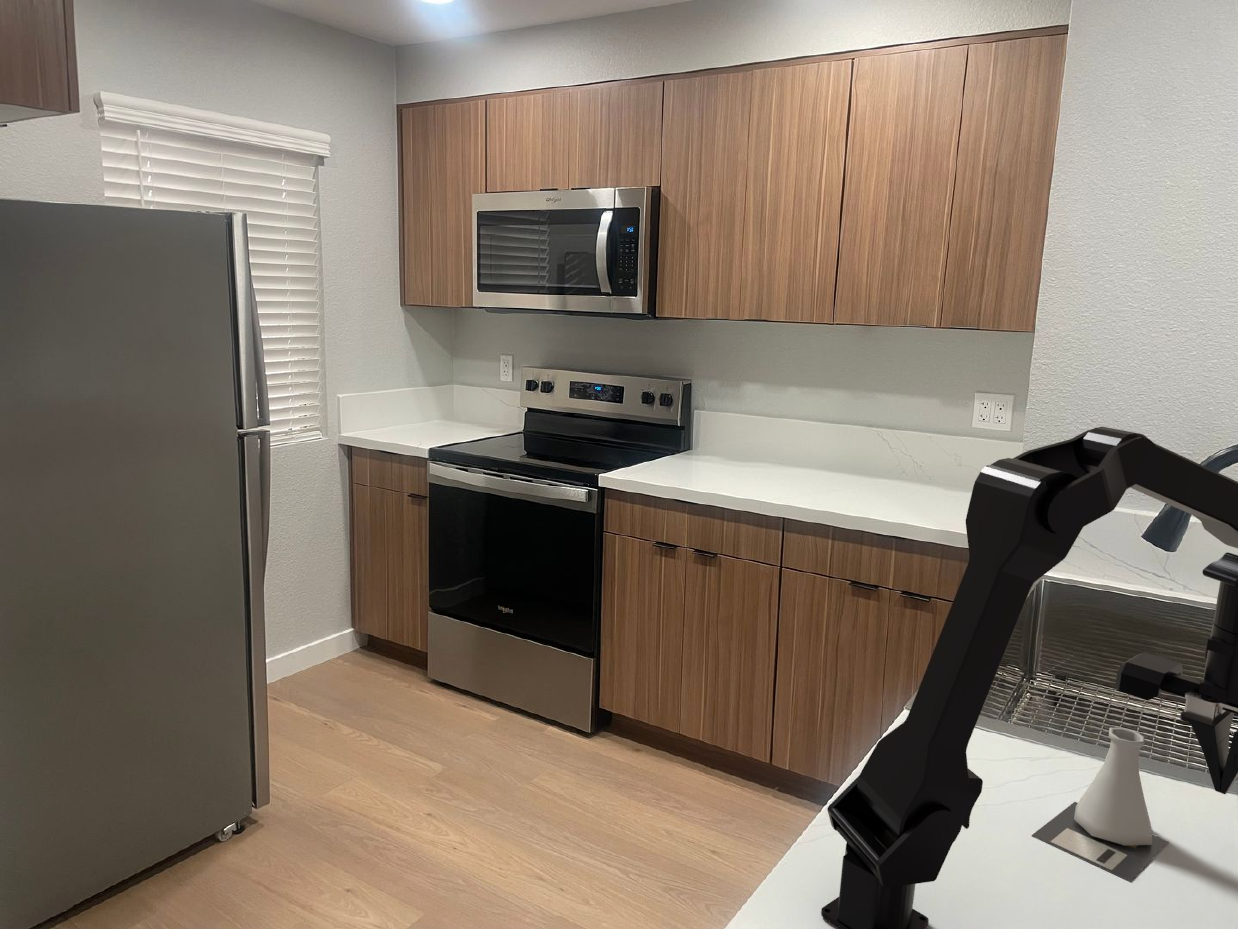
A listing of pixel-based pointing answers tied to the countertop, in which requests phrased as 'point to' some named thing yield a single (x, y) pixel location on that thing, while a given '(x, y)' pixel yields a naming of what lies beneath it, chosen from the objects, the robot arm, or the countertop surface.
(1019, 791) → the countertop surface
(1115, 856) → the floppy disk
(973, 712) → the robot arm
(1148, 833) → the flask
